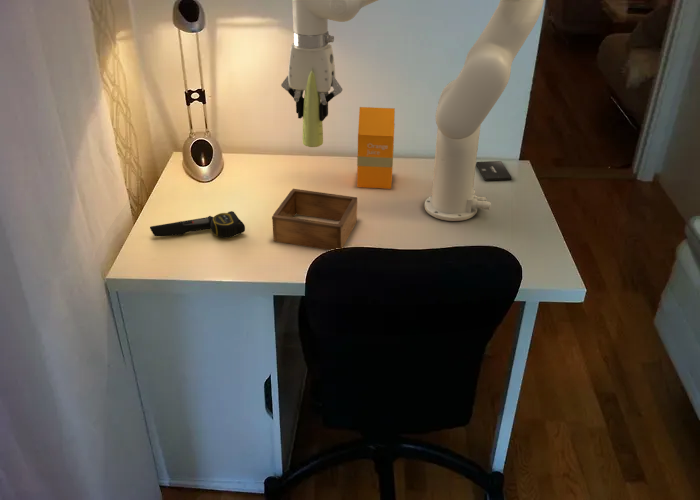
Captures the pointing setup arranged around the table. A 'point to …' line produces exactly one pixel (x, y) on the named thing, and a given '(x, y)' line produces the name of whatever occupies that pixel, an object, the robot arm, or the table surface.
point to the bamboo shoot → (312, 115)
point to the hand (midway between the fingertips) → (312, 116)
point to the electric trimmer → (182, 227)
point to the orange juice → (375, 147)
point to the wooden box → (315, 231)
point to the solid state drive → (493, 170)
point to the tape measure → (227, 225)
